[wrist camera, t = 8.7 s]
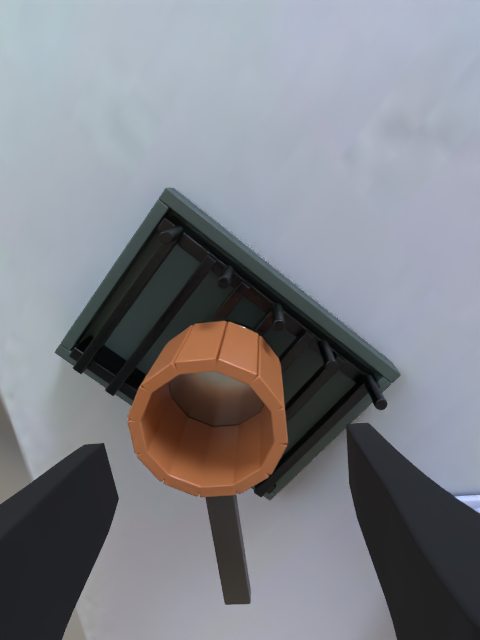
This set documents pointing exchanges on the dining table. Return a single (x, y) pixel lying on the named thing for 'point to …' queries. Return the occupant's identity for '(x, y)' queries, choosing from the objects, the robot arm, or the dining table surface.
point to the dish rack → (229, 304)
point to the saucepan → (214, 428)
